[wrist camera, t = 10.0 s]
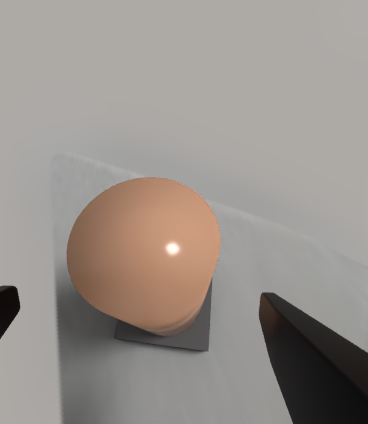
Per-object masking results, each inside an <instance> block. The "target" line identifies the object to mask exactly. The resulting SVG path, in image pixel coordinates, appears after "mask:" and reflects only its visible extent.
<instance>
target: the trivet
mask: <svg viewBox="0 0 368 424" xmlns="http://www.w3.org/2000/svg"><path fill="white" fill-rule="evenodd" d="M211 292H212V279H211V282H210V285H209V288H208V291H207V294H206V296H205V299H204V302H203V305H202V308H201V311H200V314H199V316H198V318H197V319H196V321H195V322H194V323H193V325H192V326H191V327H190V328H188V329H187V330H186V331H184V332H182V333H180V334H178V335H175V336H167V337H164V336H158V335H155V334H153V333H150V332H148V331H145V330H143V329H141V328H138V327H136V326H134V325H131V324H129V323H127V322H124V321H122V320H118V324H117V328H116V332H115V336H114V338H115V339H121V340H128V341H136V342H143V343H150V344H158V345H165V346H172V347H179V348H187V349H194V350H201V351H208V347H209V329H210V310H211Z"/></svg>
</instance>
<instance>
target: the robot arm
mask: <svg viewBox="0 0 368 424" xmlns="http://www.w3.org/2000/svg"><path fill="white" fill-rule="evenodd" d="M19 310H20V301H19V296H18V290H17V288H16V287H15V286H0V339H1V337H2V336H3V334H4V333H5V331H6V330H7V328H8V327H9V325H10V324H11V322H12V321H13V320H14V318H15V317H16V315H17V314H18V312H19ZM259 319H260V323H261V327H262V331H263V335H264V339H265V343H266V347H267V351H268V355H269V358H270V362H271V365H272V368H273V371H274V373H275V376H276V379H277V381H278V384H279V387H280V389H281V392H282V395H283V398H284V400H285V403H286V406H287V408H288V411H289V414H290V416H291V419H292V422H293V424H368V353H367V352H366V351H364V350H362V349H361V348H359V347H358V346H356V345H355V344H353V343H351V342H350V341H348V340H347V339H345V338H344V337H342V336H340V335H339V334H337V333H336V332H334V331H333V330H331V329H330V328H328V327H326V326H325V325H323V324H322V323H320V322H319V321H317V320H315V319H314V318H312V317H311V316H309V315H308V314H306V313H304V312H303V311H301V310H300V309H298V308H297V307H295V306H293V305H292V304H290V303H289V302H287V301H286V300H284V299H282V298H281V297H279V296H278V295H276V294H275V293H267V292H264V293H262V294H261V297H260V307H259Z"/></svg>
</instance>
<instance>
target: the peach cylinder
mask: <svg viewBox="0 0 368 424" xmlns="http://www.w3.org/2000/svg"><path fill="white" fill-rule="evenodd" d="M219 253H220V231H219V227H218V223H217V220H216V218H215V215H214V213H213V211H212V210H211V208H210V206H209V205H208V204H207V203H206V201H205V200H204V199H203V198H202V197H201V196H200V195H199V194H198V193H196V192H195V191H194V190H192V189H190V188H189V187H187V186H185V185H183V184H181V183H179V182H176V181H172V180H168V179H164V178H155V177H148V178H137V179H132V180H128V181H125V182H122V183H119V184H117V185H115V186H112V187H111V188H109V189H107V190H105V191H104V192H102V193H101V194H99V195H98V196H97V197H96V198H94V199H93V200H92V201H91V202H90V203H89V204H88V205H87V206H86V207H85V208H84V210H83V211H82V212H81V214H80V215H79V216H78V218H77V220H76V222H75V224H74V226H73V228H72V230H71V233H70V236H69V240H68V246H67V265H68V271H69V274H70V277H71V280H72V282H73V284H74V286H75V287H76V289H77V291H78V292H79V293H80V295H81V296H82V297H83V298H84V299H85V300H86V301H87V302H88V303H89V304H90V305H92V306H93V307H95V308H96V309H98V310H99V311H101V312H103V313H106V314H108V315H110V316H112V317H115V318H117V319H119V320H122V321H124V322H127V323H129V324H131V325H134V326H136V327H138V328H141V329H143V330H145V331H148V332H150V333H153V334H155V335H158V336H164V337H167V336H175V335H178V334H180V333H182V332H184V331H186V330H187V329H188V328H190V327H191V326H192V325H193V323H194V322H195V321H196V319H197V318H198V316H199V314H200V311H201V308H202V305H203V302H204V299H205V296H206V294H207V291H208V288H209V285H210V282H211V279H212V276H213V273H214V270H215V267H216V264H217V261H218V258H219Z"/></svg>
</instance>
